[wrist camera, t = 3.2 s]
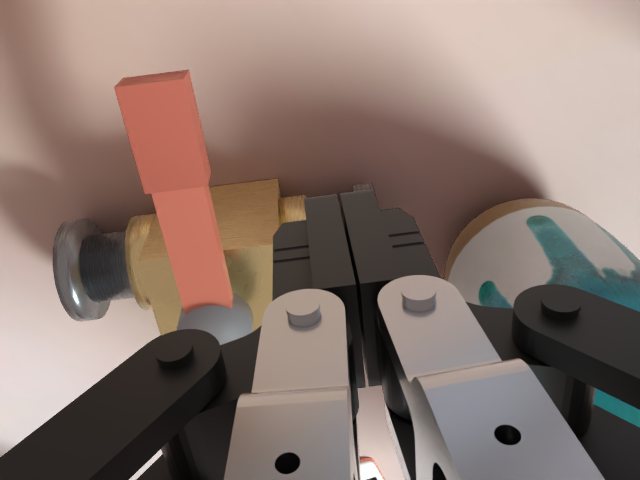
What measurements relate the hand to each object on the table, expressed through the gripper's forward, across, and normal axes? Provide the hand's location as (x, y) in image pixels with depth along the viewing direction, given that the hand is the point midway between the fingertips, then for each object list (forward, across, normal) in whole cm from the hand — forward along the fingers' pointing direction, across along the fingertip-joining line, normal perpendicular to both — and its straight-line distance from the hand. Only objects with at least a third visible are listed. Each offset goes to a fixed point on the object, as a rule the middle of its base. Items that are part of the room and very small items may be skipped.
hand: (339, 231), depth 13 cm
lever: (+12, +6, +6) cm, 15 cm away
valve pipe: (+22, +6, +11) cm, 25 cm away
